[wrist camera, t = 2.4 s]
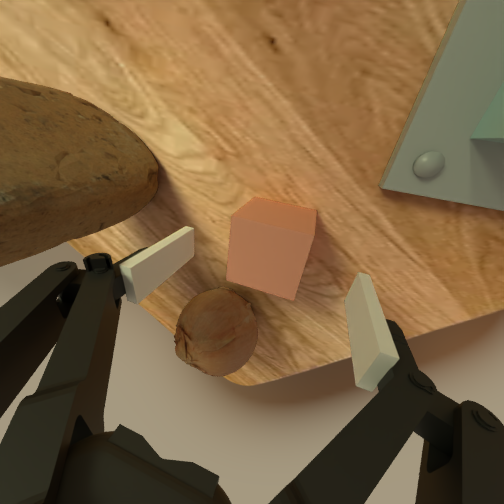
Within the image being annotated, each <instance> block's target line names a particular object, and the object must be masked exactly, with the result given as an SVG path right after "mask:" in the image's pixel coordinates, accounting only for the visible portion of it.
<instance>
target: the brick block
mask: <svg viewBox="0 0 504 504" xmlns="http://www.w3.org/2000/svg"><path fill="white" fill-rule="evenodd" d="M316 215H317V210H313V209H308V208H304V207H299V206H295V205H290V204H285V203H281V202H276V201H272V200H267V199H263V198H258V197H254V198H252V199H251V200H250V201H249V202H247V203H246V204H245V205H244V206H243V207H241V208H240V209H239V210H238V211H236V212H235V213H234V214H233V215H231V226H230V238H229V250H228V262H227V274H226V280H227V281H230V282H234V283H237V284H240V285H243V286H247V287H250V288H253V289H256V290H260V291H263V292H266V293H269V294H272V295H276V296H279V297H282V298H285V299H289V300H292V301H294V298H295V295H296V292H297V289H298V286H299V283H300V280H301V277H302V274H303V270H304V267H305V264H306V261H307V258H308V255H309V252H310V249H311V246H312V243H313V239H314V236H315V227H316Z"/></svg>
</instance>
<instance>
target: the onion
mask: <svg viewBox="0 0 504 504" xmlns="http://www.w3.org/2000/svg"><path fill="white" fill-rule="evenodd" d="M250 307H251V303H249V304H248V302H246V301H245V300H244V299H243V298H242V297H240V295H237V294H235V291H233V289H232V290H231V289H228V288H227V287H218V288H217V289H214V290H209V291H205V292H203V293H200V294H198V295H197V296H195V297H194V298H193V299H192V300H191V301H190V302H189V303H188V304H187V305H186V306H185V308H184V309H183V311H182V312H181V314H180V316H179V319H178V322H177V325H176V327H177V328H176V334H175V336H174V338H175V341H174V342H175V343H176V346H175V351H176V355H177V356H178V357H179V358H180V359H181V360H182V361H184V362H185V363H186V364H189V365H190V366H192V367H195V368H197V369H199V370H200V371H202V372H203V373H205V374H208V375H211V376H225V375H228V374H231V373H233V372H235V371H237V370H238V369H240V368H241V367H242V366H243V365H244V364H245V363H246V362H247V361H248V360H249V358H250V357H251V355H252V353H253V351H254V349H255V346H256V343H257V338H258V329H257V323H256V319H255V317H254V314H253V311H252V309H251V308H250Z"/></svg>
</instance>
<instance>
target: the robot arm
mask: <svg viewBox="0 0 504 504" xmlns="http://www.w3.org/2000/svg"><path fill="white" fill-rule="evenodd" d="M193 257H194V228H192V227H188V226H185V227H183V228H182V229H180V230H178V231H176V232H175V233H173V234H171V235H169V236H168V237H166V238H164V239H163V240H161V241H159V242H157V243H156V244H154V245H152V246H151V247H149V248H148V247H146V248H143V249H140V250H138V251H136V252H134V253H133V254H131V255H129V256H127V257H125V258H123V259H122V260H120V261H118V262H116V263H115V264H113V263H112V259H111V255H109V254H107V253H95V254H91V255H89V256H87V257H85V258H84V259H83V262H84V265H85V268H86V270H81V269H78V268H77V265H76V263H74V262H69V261H68V262H59V263H57V264H54V265H52V266H50V267H49V268H47V269H46V270H45V271H44V272H43V273H41V274H40V275H39V276H38V277H37V278H35V279H34V280H33V281H32V282H31V283H29V284H28V285H27V286H26V287H25V288H23V289H22V290H21V291H20V292H19V293H18V294H16V295H15V296H14V297H13V298H11V299H10V300H9V301H8V302H7V303H5V304H4V305H3V306H2V307H0V418H1V417H2V415H3V414H4V413H5V411H6V410H7V408H8V407H9V406H10V404H11V403H12V402H13V400H14V399H15V398H16V396H17V395H18V394H19V392H20V391H21V390H22V388H23V387H24V386H25V384H26V383H27V382H28V380H29V379H30V377H31V376H32V375H33V373H34V372H35V371H36V369H37V368H38V366H39V365H40V364H41V363H42V361H43V360H44V359H45V357H46V356H47V355H48V353H49V352H50V350H51V349H52V348H53V347H54V345H55V344H56V346H55V348H54V350H53V353H52V355H51V357H50V360H49V362H48V364H47V367H46V369H45V371H44V374H43V376H42V379H41V381H40V383H39V386H38V388H37V390H36V392H35V393H34V394H33V395H29V396H26V397H25V398H24V399H23V400H22V401H21V402H20V404H19V406H18V407H17V410H16V411H15V414H14V416H13V418H12V420H11V422H10V425H9V426H8V429H7V431H6V433H5V435H4V437H3V439H2V442H1V444H0V504H231V502H230V500H229V498H228V496H227V495H226V493H225V492H224V490H223V489H222V488H221V487H220V486H219V484H218V480H219V476H218V475H216V474H214V473H212V472H210V471H208V470H207V469H204V468H203V467H201V466H199V465H197V464H195V463H193V462H185V461H176V460H167V459H162V458H160V457H159V455H158V454H157V453H156V452H155V451H154V450H153V448H152V447H151V446H150V445H149V443H148V442H147V441H146V440H145V439H144V437H143V436H142V435H140V434H138V433H136V432H134V431H132V430H130V429H128V428H126V427H124V426H122V425H121V424H119V426H118V427H117V429H116V430H115V431H110V432H104V418H103V415H104V407H105V401H106V395H107V388H108V382H109V376H110V370H111V364H112V358H113V352H114V346H115V340H116V334H117V327H118V321H119V315H120V309H121V303H122V300H121V297H122V296H123V295H124V294H126V297H127V300H128V301H130V302H133V303H135V304H138V303H140V302H141V301H142V300H143V299H144V298H145V297H147V296H148V295H149V294H150V293H151V292H153V291H154V290H155V289H156V288H157V287H158V286H160V285H161V284H162V283H163V282H164V281H165V280H167V279H168V278H169V277H170V276H171V275H173V274H174V273H175V272H176V271H177V270H178V269H180V268H181V267H182V266H183V265H184V264H185V263H187V262H188V261H189V260H190V259H191V258H193ZM57 297H59V298H58V299H57ZM56 299H57V300H56ZM344 302H345V310H346V317H347V325H348V332H349V339H350V347H351V354H352V362H353V369H354V376H355V384H356V386H357V387H360V388H363V389H365V390H368V391H371V392H372V391H373V390H374V389H375V388H376V387H377V386H378V390H379V393H378V394H377V395H376V396H375V397H374V398H373V399H372V400H371V401H370V402H369V403H368V404H367V405H366V406H365V407H364V408H363V409H362V410H361V411H360V412H359V413H358V414H357V415H356V416H355V417H354V418H353V419H352V420H351V421H350V422H349V423H348V424H347V426H345V427H344V428H343V429H342V430H341V432H339V434H338V435H337V436H336V437H335V438H334V439H333V440H332V441H331V442H330V443H329V444H328V445H327V446H326V447H325V448H324V449H323V450H322V451H321V452H320V453H319V454H318V455H317V456H316V457H315V458H314V459H313V460H312V461H311V462H310V463H309V464H308V465H307V466H306V467H305V468H304V469H303V470H302V471H301V472H300V473H299V474H298V476H297V477H296V478H295V479H294V480H292V481H291V482H290V483H289V484H288V485H287V486H286V487H285V488H284V489H283V490H282V491H281V492H280V493H279V494H278V495H277V496H276V497H275V498H274V499H273V500H272V501H271V502H270V503H269V504H364V503H365V502H366V500H367V498H368V497H369V496H370V494H371V493H372V491H373V490H374V488H375V487H376V485H377V484H378V482H379V481H380V480H381V478H382V477H383V475H384V474H385V472H386V471H387V469H388V468H389V466H390V465H391V463H392V462H393V460H394V459H395V457H396V456H397V455H398V453H399V451H400V450H401V449H402V447H403V446H404V444H405V443H406V441H407V440H408V438H409V437H410V435H411V434H412V432H413V431H414V432H415V433H416V434H418V435H420V436H421V437H422V438H424V444H423V451H422V458H421V465H420V473H419V480H418V488H417V495H416V503H415V504H504V426H503V424H502V423H501V421H500V420H499V419H498V418H497V417H496V416H495V415H494V414H493V413H492V412H490V411H489V410H488V409H486V408H485V407H484V406H482V405H480V404H478V403H476V402H473V401H469V400H467V401H463V402H462V403H461V404H458V403H457V402H455V401H453V400H452V399H450V398H448V397H447V396H445V395H443V394H442V393H440V392H439V391H437V389H436V386H435V385H434V383H433V382H432V380H431V379H430V378H429V377H428V376H427V375H425V374H424V373H423V372H421V371H419V369H418V367H417V365H416V362H415V360H414V357H413V355H412V353H411V351H410V348H409V346H408V344H407V341H406V339H405V336H404V334H403V332H402V330H401V328H400V327H399V326H398V325H397V324H396V322H394V321H391V320H388V319H385V317H384V314H383V311H382V308H381V305H380V303H379V300H378V297H377V294H376V291H375V289H374V286H373V283H372V280H371V277H370V275H368V274H364V273H360V272H358V273H357V275H356V278H355V280H354V282H353V284H352V286H351V288H350V290H349V292H348V294H347V296H346V298H345V300H344ZM56 342H57V343H56Z"/></svg>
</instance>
